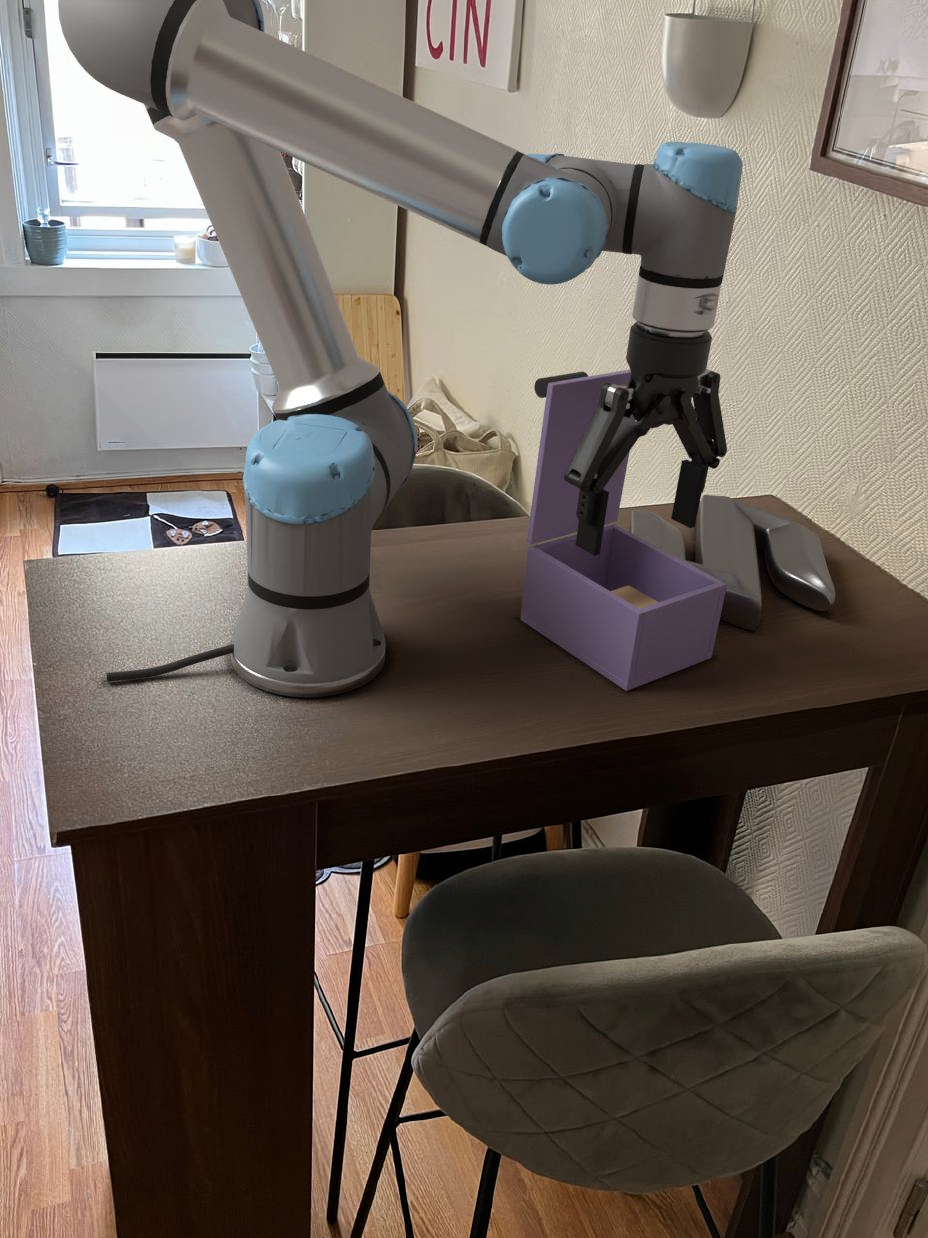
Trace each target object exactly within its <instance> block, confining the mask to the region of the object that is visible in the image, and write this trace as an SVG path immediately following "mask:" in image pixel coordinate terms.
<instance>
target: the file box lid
mask: <svg viewBox="0 0 928 1238" xmlns="http://www.w3.org/2000/svg"><path fill="white" fill-rule="evenodd" d="M630 375H631V371H630V369H624V370H618V371H612V372H608V373H607V372H606V373H600V374H595V375H588V373H587V372H586V371H577V372H571V373H564V374H559V375H551V376H546V377H540V378H536V380H535V381H534V386H533V387H534V393H535V395H536V397H538V398H540V399H545V404H544V409H543V417H542V425H541V432H540V441H539V447H538V454H537V463H536V468H535V469H536V470H535V477H534V483H533V484H534V485H533V492H532V498H531V506H530V514H529V520H528V527H527V535H526V543H528V544H530V545H534V544H535V545H536V544H539V543H542V542H546V541H549V540H553V539H557V538H560V537H561V538H562V537H564V536H568V535H571V534H575V533H577V531H578V524H579V519H578V518H577V514H576V513H577V505H578V498H579V490H580V489H579V488H578V487H576V486H574V485H572V484H570V483H568V482H566V481H565V480H564V475H565V472H566V470H567V468H568V466H569V464H570V462H571V460H572V458H573V456H574V454H575V452H576V450H577V448H578V446H579V443H580V441H581V439H582V437H583V435H584V433H585V431H586V429H587V427H588V425H589V423H590V421H591V419H592V417H593V415H594V413H595V410H596V408H597V406H598V402H599V398H600V393H601V389H602V386H603V384H604V383H606V382H610V383H612V384H615V385H617V386H626V384H627V382H628V380H629V378H630ZM630 419H632V420H634V421H636V420H635V419H634V417H633V415H631V416H630ZM630 453H631V450H630V451H629V453H628V454H627V456H626V457H625V458H624V460H623V461H622V463H621V464H620V466H619V467H618V468H617V470H616V471H615V473H614V474H613V476H612V477H611V478H610V480H609V481H608V483H607V484H606V486H605V487H604V488H603V489H604V490H606V491H608V492H609V497H608V503H607V510H606V516H605V523H604V526H606V525H609V524H613V523H616V522H618V517H619V512H620V506H621V502H622V496H623V491H624V485H625V480H626V474H627V468H628V463H629V458H630ZM579 473H580V472H579ZM596 477H597V474H596V475H595V477H594V478H596Z"/></svg>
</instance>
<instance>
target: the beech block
mask: <svg viewBox="0 0 928 1238" xmlns="http://www.w3.org/2000/svg"><path fill="white" fill-rule="evenodd" d="M611 592H612V593H614V594H616V595H617V596H619V597H621V598H622V599H624V600H626V601H627V602H629V603H631V604H632V605H634V606H636V607H637V608H639V609H641V608H644V607H647V606H649V605H652V604H655V603H658V602H657V601H656V600H654V599H652V598H650V597H649V596H647V595H645V594H643V593H641V592H640V591H638V590H636V589H634V588H633V587H631V586H629V585H628V586H625V587H622V588H619V589H616V590H613V591H611Z"/></svg>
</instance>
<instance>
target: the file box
mask: <svg viewBox="0 0 928 1238" xmlns="http://www.w3.org/2000/svg"><path fill="white" fill-rule="evenodd" d="M576 538H577V533H576V534H573V535H569V536H565V537H561V538H558V539H554V540H551V541H547V542H543V543H538V544H535V545H531V546H529V547H528V548H527V556H526V565H525V573H524V583H523V592H522V599H521V600H522V601H521V610H520V621H522V622H523V623H525V624H526V625H527V626H528V627H530V628H532V629H533V630H535V631H537V633H539V634H541V635H542V636H544V637H545V638H546V639H548V640H549V641H551V642H553V643H554V644H556V645H557V646H559V647H560V648H561V649H563V650H565V651H566V652H568V653H569V654H570V655H572V656H573V657H575V658H576V659H578V660H579V661H580V662H582V663H584V664H586V665H587V666H588V667H590V668H591V669H592V670H594V671H596V672H597V673H598V674H600V675H602V676H603V677H604V678H606V679H607V680H609V681H610V682H611V683H614V684H615V685H617V686H618V687H619V688H621V689H623V690H624V691H626V692H627V691H630V690H632V689H636V688H638V687H641V686H643V685H646V684H649V683H650V682H653V681H656V680H658V679H661V678H663V677H666V676H669V675H671V674H674V673H676V672H680V671H681V670H685V669H686V668H689V667H692V666H694V665H697V664H699V663H702V662H705V661H707V660H709V659H712V657H713V653H714V652H713V651H714V647H715V643H716V638H717V634H718V628H719V623H720V615H721V610H722V606H723V601H724V596H725V591H726V587H727V584H726V583H724V582H722V581H720V580H718V579H716V578H714V577H713V576H711V575H709V574H707V573H705V572H703V571H701V570H699V569H698V568H696V567H694V566H692V565H690V564H688V563H686V562H684V561H683V560H681V559H679V558H677V557H675V556H673V555H671V554H669V553H668V552H666V551H664V550H662V549H660V548H658V547H656V546H654V545H653V544H651V543H649V542H647V541H645V540H643V539H641V538H639V537H638V536H636V535H634V534H632V533H630V531H628V530H627V529H625V528H623V527H621V526H619V525H617V524H615V523H612V524H610V525H609V524H608V525H604V530H603V536H602V543H601V549H600V554H598V555H595V556H594V555H592V554H590V553H589V552H587V551H585V550H583V549H582V548H580V547H578V546H576ZM628 585H629V586H631V587H633V588H634V589H636V590H638V591H640V592H641V593H643V594H645V595H647V596H649V597H650V598H652V599H654V600H656V601H657V602H658V603H655V604H652V605H649V606H647V607H644V608H641V609H639V608H637V607H636V606H634V605H632V604H631V603H629V602H627V601H626V600H624V599H622V598H621V597H619V596H617V595H616V594H614V593H612V592H611V591H613V590H616V589H619V588H622V587H625V586H628Z"/></svg>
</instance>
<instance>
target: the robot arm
mask: <svg viewBox="0 0 928 1238" xmlns="http://www.w3.org/2000/svg"><path fill="white" fill-rule="evenodd" d="M57 5H58V8H57V9H58V20H59V23H60V27H61V32H62V35H63V38H64V40H65V42H66V44H67V46H68V49H69V51H70V52H71V54H72V55H73V56H74V58H75V60H76V61H77V63H78V64H79V66H80V67H81V68H82V69H83V70H84V71H85V72H86V73H87V74H88V75H89V76H90V77H92V78H93V80H95V81H96V82H98V83H99V84H101V85H102V86H103V87H105V88H106V89H109V90H110V91H113V92H116V93H117V94H119V95H121V96H124V97H127V98H128V99H131V100H134V101H136V102H138V103H140V104H143V105H144V108H145V110H146V113H147V115H148V118H149V120H150V123H151V124H152V127H153V129H154V130H155V131H157V132H158V133H161V134H163V135H164V136H167V137H168V138H170V139H173V140H174V141H175V142H176V143H177V145H178V146H179V149H180V151H181V153H182V156H183V158H184V161H185V163H186V166H187V168H188V170H189V173H190V175H191V178H192V180H193V182H194V185H195V188H196V190H197V192H198V194H199V197H200V199H201V202H202V204H203V207H204V209H205V211H206V214H207V216H208V218H209V221H210V224H211V226H212V228H213V230H214V233H215V235H216V238H217V241H218V243H219V245H220V247H221V251H222V252H223V255H224V257H225V260H226V262H227V265H228V267H229V269H230V271H231V275H232V276H233V279H234V281H235V283H236V286H237V289H238V291H239V293H240V296H241V298H242V301H243V303H244V306H245V308H246V310H247V313H248V315H249V318H250V320H251V322H252V325H253V327H254V329H255V332H256V335H257V337H258V340H259V342H260V345H261V346H262V349H263V351H264V354H265V356H266V359H267V361H268V363H269V366H270V369H271V371H272V373H273V376H274V379H275V380H276V383H277V387H278V390H277V393H276V396H275V398H274V401H273V403H272V405H271V411H272V412H273V415H274V417H275V419H276V420H274V421H271V422H270V423H268V424H266V425H265V426H263V427H261V428H260V429H259V430H258V431H257V432H256V433H255V434H254V435H253V436H252V437H251V439H250V440H249V443H248V444H247V446H246V447H247V448H246V451H245V464H244V467H243V468H244V469H243V476H242V481H243V488H244V503H245V504H244V505H245V528H246V529H245V532H246V535H245V536H246V560H247V561H246V562H247V563H246V564H247V590H246V593H245V596H244V599H243V602H242V605H241V608H240V611H239V614H238V618H237V621H236V624H235V626H234V629H233V632H232V635H231V640H230V644H228V645H225V646H221V647H218V648H213V649H211V650H206V651H203V652H199V653H197V654H193V655H190V656H187V657H184V658H181V659H178V660H175V661H173V662H169V663H166V664H162V665H158V666H154V667H149V668H143V669H142V668H141V669H135V670H134V669H133V670H123V671H122V670H121V671H112V672H106V673H105V677H106V682H107V683H109V682H118V681H131V680H139V679H147V678H152V677H157V676H162V675H166V674H169V673H172V672H175V671H179V670H182V669H184V668H187V667H190V666H193V665H196V664H199V663H203V662H206V661H209V660H210V661H211V660H213V659H216V658H220V657H223V656H228V655H230V659H231V660H230V661H231V665H232V667H233V670H234V671H235V672H236V674H237V675H238V676H239V677H241V679H242V680H243V681H245V682H246V683H248V684H249V685H251V686H253V687H255V688H257V689H259V690H262V691H265V692H268V693H272V694H275V695H279V696H286V697H292V698H293V697H294V698H323V697H329V696H336V695H340V694H345V693H348V692H351V691H353V690H356V689H358V688H361V687H362V686H365V685H366V684H368V683H369V682H371V681H372V680H374V679H375V678H376V677H377V676H378V675H379V674H380V672H381V671H382V669H383V667H384V665H385V662H386V660H385V659H386V647H387V645H386V639H385V634H384V630H383V628H382V627H383V626H382V624H381V621H380V619H379V614H378V612H377V609H376V606H375V603H374V600H373V597H372V594H371V590H370V574H371V553H372V551H371V548H372V531H373V527H374V525H375V523H376V522H377V521H378V519H379V518H380V516H381V515H382V514H383V512H384V511H385V509H386V508H387V507H388V505H389V504H390V502H391V501H392V499H393V498H394V497H395V496H396V495H397V494H398V493H399V492H400V490H401V489H402V488H403V487H404V486H405V485H406V483H407V481H408V479H409V477H410V475H411V472H412V471H413V467H414V463H415V461H416V459H417V453H418V444H419V443H418V442H419V441H418V431H417V428H416V423H415V421H414V417H413V416H412V413H411V412H410V410H409V409H408V407H407V406H406V404H405V403H404V402H403V401H402V399H400V398H399V397H398V396H397V395H396V394H393V393H391V392H390V391H388V389H387V385H386V383H385V381H384V379H383V376H382V373H381V370H380V368H379V366H378V365H376V364H374V363H372V362H370V361H367V360H365V359H364V358H361V356H360V355H359V354H358V352H357V348H356V346H355V344H354V341H353V339H352V336H351V333H350V330H349V328H348V325H347V323H346V320H345V317H344V315H343V312H342V309H341V307H340V304H339V302H338V299H337V296H336V294H335V292H334V289H333V286H332V283H331V280H330V277H329V276H328V273H327V270H326V267H325V264H324V262H323V260H322V257H321V254H320V251H319V249H318V247H317V244H316V241H315V239H314V236H313V233H312V231H311V228H310V225H309V223H308V220H307V217H306V215H305V212H304V210H303V207H302V204H301V201H300V199H299V195H298V194H297V192H296V191H297V190H296V188H295V186H294V183H293V180H292V178H291V175H290V173H289V169H288V167H287V164H286V162H285V159H284V157H283V154H285V155H287V156H289V157H291V158H294V159H296V160H298V161H300V162H302V163H305V164H306V165H309V166H311V167H313V168H316V169H317V170H320V171H322V172H324V173H326V174H328V175H330V176H333V177H335V178H337V179H340V180H341V181H344V182H346V183H348V184H350V185H352V186H354V187H357V188H359V189H361V190H363V191H365V192H368V193H370V194H371V195H374V196H376V197H378V198H381V199H383V200H385V201H387V202H389V203H392V204H393V205H396V206H397V207H400V208H403V209H405V210H407V211H409V212H412V213H413V214H415V215H418V216H419V217H422V218H425V219H427V220H429V221H431V222H433V223H435V224H438V225H439V226H442V227H444V228H446V229H448V230H450V231H453V232H455V233H457V234H459V235H461V236H463V237H466V238H468V239H470V240H471V241H475V242H476V243H479V244H481V245H483V246H485V247H487V248H488V249H491V250H493V251H494V252H497V253H498V254H501V255H504V256H506V257H507V259H508V260H509V262H510V264H511V266H512V267H513V268H514V269H515V270H516V271H517V272H518V273H519V274H520V275H521V276H523V277H524V278H526V279H527V280H529V281H531V282H534V283H537V284H541V285H547V286H548V285H552V286H553V285H560V284H563V283H564V284H565V283H568V282H569V281H572V280H574V279H575V278H577V277H579V276H580V275H582V274H583V273H585V272H586V271H587V269H590V268H591V267H592V266H593V264H594V263H595V261H596V260H597V259H598V258H599V257H600V256H601V254H602V252H609V253H620V254H625V255H639V256H640V265H639V269H638V277H637V282H636V288H635V295H634V301H633V307H632V313H631V314H632V316H631V317H632V318H633V319H634V321H635V323H633V325H631V326H630V327H629V328H630V329H629V336H628V342H627V347H626V348H627V349H626V356H625V361H626V363H627V365H628V367H629V370H630V371H631V375H630V378H629V380H628V382H627V384H626V386H617V385H615V384H612V383H610V382H606V383H604V384H603V386H602V389H601V393H600V398H599V402H598V406H597V408H596V410H595V413H594V415H593V417H592V419H591V421H590V423H589V425H588V427H587V429H586V431H585V433H584V435H583V437H582V439H581V441H580V443H579V446H578V448H577V450H576V452H575V454H574V456H573V458H572V460H571V462H570V464H569V466H568V468H567V470H566V472H565V475H564V480H565V481H566V482H568V483H570V484H572V485H574V486H576V487H578V488H579V489H580V490H579V498H578V505H577V513H576V514H577V518H578V519H579V524H578V531H577V532H576V534H577V538H576V546H578V547H580V548H582V549H583V550H585V551H587V552H589V553H590V554H592V555H594V556H595V555H598V554H600V549H601V543H602V536H603V530H604V527H605V525H604V523H605V516H606V510H607V503H608V497H609V492H608V491H606V490H604V489H603V488H604V487H605V486H606V484H607V483H608V481H609V480H610V478H611V477H612V476H613V474H614V473H615V471H616V470H617V468H618V467H619V466H620V464H621V463H622V461H623V460H624V458H625V457H626V456H627V454H628V453H629V454H630V452H631V450H632V449H633V447H634V446H635V444H636V443H637V441H638V439H640V438H641V437H645V436H646V435H647V434H648V433H649V431H650V430H651V429H655V428H656V429H657V428H659V427H661V426H663V425H666V426H667V425H668V426H671V425H672V426H673V429H674V430H675V432H676V434H677V436H678V438H679V440H680V442H681V444H682V446H683V449H684V450H685V452H686V454H687V457H688V458H689V459H690V460H689V459H683V460H681V463H680V468H679V474H678V480H677V484H676V490H675V496H674V501H673V507H672V512H671V518H670V519H671V520H673V521H675V522H676V523H678V524H680V525H683V526H684V527H686V528H689V529H693V528H696V525H697V516H698V510H699V505H700V501H701V498H702V495H703V493H704V490H705V487H706V483H707V477H708V473H709V468H710V469H713V470H715V469H717V468H718V467H719V465H720V463H721V459H720V458H724V457H726V454H727V453H728V444H727V439H726V432H725V427H724V419H723V413H722V407H721V401H720V395H719V392H720V386H721V385H720V384H721V374H720V373H718V372H717V371H713V370H710V369H708V368H707V367H708V362H709V356H710V351H711V346H712V342H713V341H712V340H713V336H712V335H711V332H710V331H709V330H711V329H712V328H713V327H715V322H716V315H717V310H718V306H719V305H718V304H719V299H720V295H721V294H720V293H721V289H722V284H723V279H724V274H725V270H726V265H727V260H728V256H729V251H730V245H731V242H732V241H731V239H732V236H733V231H734V225H735V220H736V216H737V210H738V201H739V195H740V187H741V181H742V174H743V167H744V165H743V160H742V159H741V156H740V155H739V154H738V153H739V152H737V151H735V150H734V149H732V148H730V147H725V146H722V145H717V144H716V145H715V144H710V143H701V142H686V141H685V142H684V141H666V142H663V143H662V144H660V145H659V147H658V148H657V151H656V154H655V155H656V156H655V158H654V159H653V163H645V164H641V163H637V164H635V163H626V162H619V161H618V162H617V161H612V160H611V161H609V160H603V159H595V158H587V157H578V156H569V155H565V154H564V153H558V152H557V153H553V154H552V153H551V154H543V153H528V154H525V153H523V152H521V151H519V150H518V149H516V148H514V147H512V146H509V145H508V144H505V143H503V142H501V141H499V140H497V139H495V138H493V137H490V136H488V135H486V134H483V133H481V132H480V131H477V130H475V129H473V128H471V127H468V126H466V125H464V124H462V123H460V122H458V121H455V120H454V119H451V118H449V117H447V116H446V115H442V114H440V113H439V112H436V111H434V110H432V109H430V108H428V107H425V106H424V105H421V104H420V103H417V102H414V101H413V100H410V99H408V98H406V97H404V96H402V95H399V94H397V93H395V92H393V91H392V90H389V89H387V88H384V87H382V86H380V85H378V84H376V83H374V82H371V81H369V80H367V79H365V78H363V77H361V76H359V75H356V74H354V73H353V72H350V71H348V70H346V69H344V68H341V67H339V66H337V65H335V64H333V63H331V62H329V61H326V60H324V59H322V58H321V57H318V56H315V55H314V54H311V53H309V52H307V51H305V50H303V49H300V48H299V47H297V46H294V45H293V44H291V43H288V42H286V41H284V40H281V39H279V38H277V37H275V36H273V35H270V34H268V33H266V32H265V19H264V13H263V9H262V5H261V2H260V0H57ZM282 153H283V154H282ZM631 415H633V417H634V419H635V421H634V420H632V419H630V416H631ZM629 451H630V452H629ZM718 457H719V458H718ZM579 472H580V473H579ZM596 474H597V477H596V478H594V477H595V475H596Z"/></svg>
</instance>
